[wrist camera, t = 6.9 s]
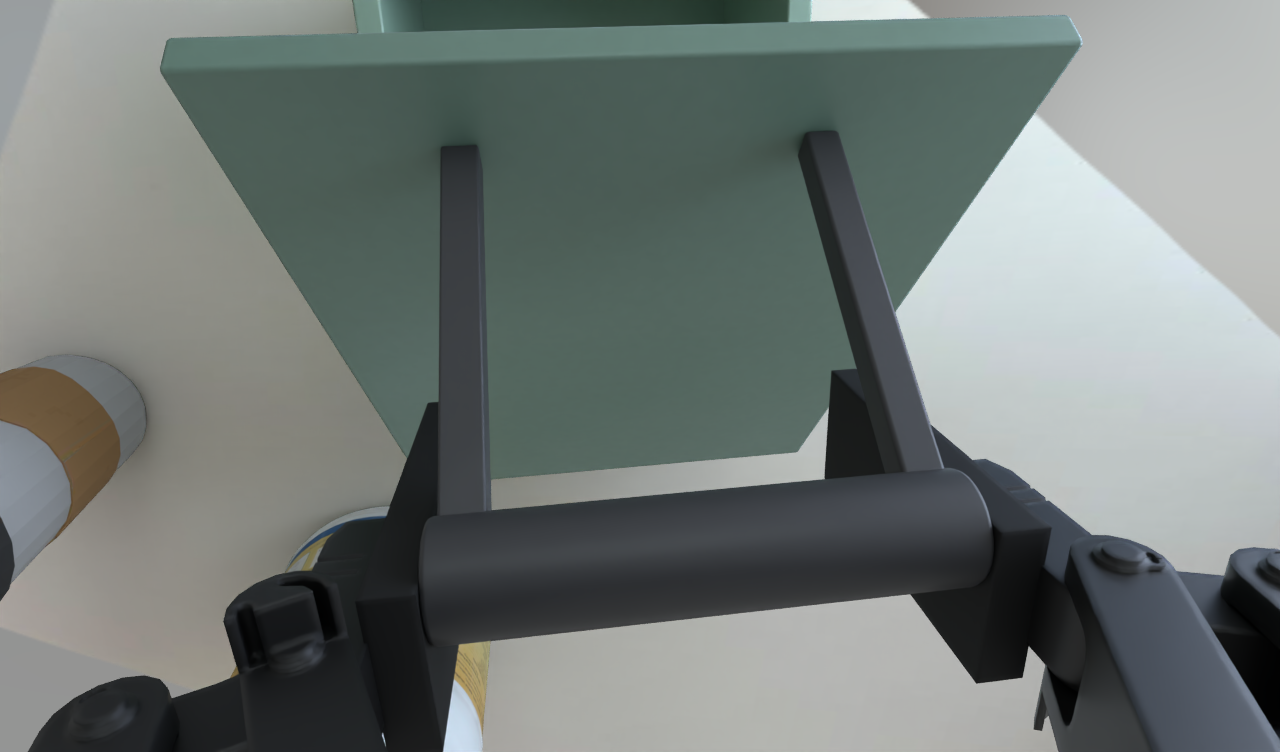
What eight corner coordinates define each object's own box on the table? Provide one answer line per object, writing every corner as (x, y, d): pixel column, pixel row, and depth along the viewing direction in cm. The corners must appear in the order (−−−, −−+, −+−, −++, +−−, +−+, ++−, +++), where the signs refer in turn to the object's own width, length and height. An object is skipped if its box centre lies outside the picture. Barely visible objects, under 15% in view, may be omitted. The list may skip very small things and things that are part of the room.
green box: (400, -25, 34) (339, -77, 23) (737, -31, 35) (816, -82, 25) (454, 378, 41) (425, 471, 31) (732, 357, 42) (792, 439, 32)
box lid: (164, 35, 12) (6, 664, 8) (1070, 12, 14) (1352, 519, 9) (423, 467, 30) (419, 722, 26) (794, 435, 32) (846, 670, 28)
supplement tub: (270, 641, 45) (126, 931, 30) (315, 473, 42) (180, 701, 26) (465, 680, 48) (427, 963, 32) (522, 526, 45) (512, 760, 29)
